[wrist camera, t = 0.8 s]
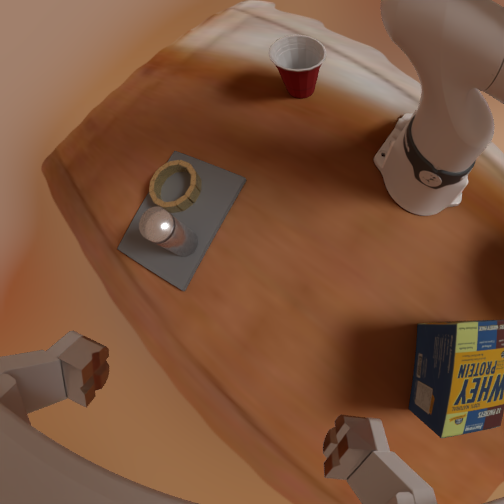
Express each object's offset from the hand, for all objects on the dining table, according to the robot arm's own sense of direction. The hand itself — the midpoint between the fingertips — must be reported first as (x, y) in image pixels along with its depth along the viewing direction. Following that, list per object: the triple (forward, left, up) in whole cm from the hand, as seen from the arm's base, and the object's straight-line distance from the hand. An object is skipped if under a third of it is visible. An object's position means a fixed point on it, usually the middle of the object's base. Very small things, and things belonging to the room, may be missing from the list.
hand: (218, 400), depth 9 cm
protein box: (-6, +26, -41) cm, 49 cm away
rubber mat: (-9, -28, -41) cm, 51 cm away
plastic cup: (-45, -20, -41) cm, 64 cm away
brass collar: (-14, -31, -41) cm, 53 cm away
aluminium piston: (-5, -24, -40) cm, 47 cm away
